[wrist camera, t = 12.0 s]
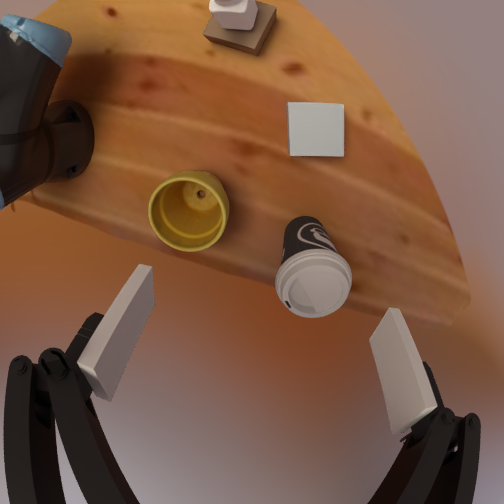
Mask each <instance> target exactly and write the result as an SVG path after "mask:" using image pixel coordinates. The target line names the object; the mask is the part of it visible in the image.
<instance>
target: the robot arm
mask: <svg viewBox="0 0 504 504" xmlns="http://www.w3.org/2000/svg"><path fill="white" fill-rule="evenodd" d="M71 43H72V37H71V35H70V33H69V32H67V31H65V30H63V29H60V28H58V27H55V26H52V25H49V24H46V23H42V22H39V21H35V20H32V19H27V18H23V17H19V16H16V15H10V14H7V15H5V16H4V17H3V19H2V20H0V210H1V209H3V208H4V207H5V206H7V205H8V204H10V203H11V202H13V201H14V200H16V199H17V198H19V197H20V196H22V195H24V194H25V193H27V192H28V191H30V190H32V189H33V188H35V187H37V186H39V185H40V184H42V183H51V182H64V181H68V180H70V179H72V178H74V177H75V176H77V175H79V174H80V173H81V172H82V171H83V170H84V169H85V168H86V166H87V164H88V163H89V160H90V158H91V155H92V151H93V146H94V131H93V126H92V122H91V119H90V117H89V115H88V113H87V111H86V110H85V109H84V108H83V107H82V106H81V105H80V104H79V103H77V102H75V101H71V100H64V101H58V102H54V103H52V104H50V105H48V102H49V99H50V96H51V93H52V91H53V88H54V85H55V83H56V80H57V78H58V75H59V73H60V70H61V68H63V66H64V64H63V63H64V60H65V58H66V55H67V53H68V50H69V48H70V46H71ZM47 105H48V106H47ZM153 287H154V286H153V270H152V267H151V266H147V265H142V264H139V265H138V266H137V268H136V269H135V271H134V272H133V274H132V275H131V276H130V278H129V279H128V281H127V282H126V284H125V285H124V287H123V288H122V290H121V291H120V293H119V294H118V296H117V297H116V299H115V300H114V302H113V303H112V305H111V306H110V308H109V309H108V311H107V313H106V314H105V315H102V314H99V313H96V312H95V313H94V314H92V315H91V316H89V317H88V318H87V319H86V321H85V322H84V324H83V325H82V328H80V330H79V331H78V334H77V335H76V336H75V338H74V339H73V341H72V342H71V344H70V346H69V347H68V349H67V351H66V352H65V353H64V352H63V351H62V350H61V349H58V348H49V349H47V350H45V351H44V352H43V353H42V354H41V355H40V357H39V361H38V364H33V363H32V362H31V360H30V359H29V358H28V357H27V356H23V355H21V356H17V357H15V358H14V359H13V360H12V361H11V364H10V366H9V372H8V378H7V386H6V395H5V408H4V462H5V474H6V482H7V489H8V495H9V501H10V504H66V502H65V497H64V492H63V487H62V482H61V476H60V471H59V464H58V455H57V445H56V432H55V419H56V423H57V426H58V430H59V433H60V437H61V439H62V443H63V445H64V449H65V452H66V454H67V457H68V460H69V463H70V465H71V468H72V470H73V473H74V475H75V478H76V480H77V482H78V484H79V487H80V489H81V491H82V493H83V495H84V497H85V499H86V501H87V503H88V504H140V503H139V502H138V500H137V498H136V497H135V495H134V493H133V491H132V490H131V488H130V486H129V484H128V483H127V481H126V479H125V477H124V475H123V473H122V471H121V470H120V467H119V466H118V463H117V461H116V459H115V457H114V455H113V453H112V451H111V449H110V446H109V444H108V442H107V439H106V437H105V435H104V432H103V430H102V428H101V425H100V422H99V420H98V417H97V414H96V412H95V409H94V406H93V403H92V400H91V398H90V395H91V393H92V391H93V392H94V393H95V395H96V396H97V397H100V398H102V399H105V400H107V401H110V402H111V400H112V398H113V396H114V393H115V391H116V388H117V386H118V384H119V381H120V379H121V377H122V374H123V372H124V370H125V368H126V365H127V362H128V361H129V359H130V356H131V354H132V352H133V350H134V347H135V345H136V343H137V341H138V339H139V337H140V335H141V333H142V330H143V328H144V326H145V324H146V322H147V320H148V318H149V316H150V314H151V312H152V310H153V308H154V306H155V300H154V288H153ZM369 341H370V344H371V348H372V351H373V355H374V359H375V362H376V366H377V369H378V373H379V377H380V381H381V385H382V389H383V394H384V398H385V402H386V407H387V411H388V415H389V420H390V425H391V430H392V434H397V433H403V432H405V431H406V430H408V429H409V428H411V430H412V432H411V433H409V434H408V435H406V436H405V437H403V438H402V439H401V440H400V442H402V441H404V440H405V439H406V441H405V442H404V443H403V444H404V445H403V447H402V449H401V451H400V453H399V454H398V456H397V458H396V460H395V462H394V463H393V465H392V467H391V469H390V470H389V472H388V474H387V475H386V477H385V478H384V480H383V482H382V483H381V485H380V486H379V488H378V489H377V491H376V492H375V494H374V495H373V497H372V498H371V500H370V501H369V502H368V504H472V501H473V496H474V491H475V485H476V479H477V472H478V463H479V451H480V433H481V431H480V429H481V424H480V419H479V418H478V416H477V415H476V414H474V413H469V414H468V415H467V416H465V417H464V418H463V417H458V416H455V415H454V413H453V411H451V409H449V408H445V407H444V405H443V402H442V399H441V396H440V393H439V390H438V387H437V385H436V382H435V379H434V378H433V377H434V376H433V373H432V371H431V368H430V367H429V366H428V364H427V363H426V362H422V361H421V358H420V356H419V353H418V351H417V348H416V346H415V343H414V341H413V339H412V336H411V334H410V331H409V329H408V327H407V325H406V322H405V320H404V318H403V316H402V313H401V311H400V309H397V308H388V310H387V312H386V314H385V315H384V317H383V318H382V320H381V322H380V323H379V325H378V327H377V328H376V330H375V331H374V333H373V334H372V336H371V338H370V339H369ZM456 446H458V449H457V451H456V452H454V448H455V447H456Z"/></svg>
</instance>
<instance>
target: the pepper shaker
mask: <svg viewBox="0 0 504 504" xmlns="http://www.w3.org/2000/svg"><path fill="white" fill-rule="evenodd" d="M209 10H210V12H211V14H212V15H213V16H214V18H215V19H216V20H217V22H218V23H219V24H220V26H221V27H223V28H227V29H241V30H251V29H252V28H253V26H254V22H255V18H256V15H257V11H258V8H257V5H256V2H255V0H210V4H209Z"/></svg>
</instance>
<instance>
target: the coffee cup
mask: <svg viewBox="0 0 504 504" xmlns="http://www.w3.org/2000/svg"><path fill="white" fill-rule="evenodd" d="M351 284H352V272H351V269H350V266H349V264H348V263H347V262H346V260H345V259H344V258H343V257H341V256H340V255H339V254H338V252H337V251H336V249H335V247H334V245H333V243H332V242H331V240H330V238H329V236H328V235H327V233H326V231H325V229H324V228H323V226H322V224H321V223H320V222H319V221H318V220H317V219H315V218H313V217H309V216H301V217H298V218H295V219H294V220H292V221H291V222H290V223H289V224H288V225H287V227H286V230H285V235H284V244H283V253H282V261H281V267H280V269H279V270H278V272H277V275H276V279H275V288H276V292H277V294H278V296H279V298H280V300H281V301H282V302H283V304H284V305H285V306H286V307H287V308H288V309H289V310H290V311H292V312H293V313H295V314H296V315H299V316H302V317H307V318H317V317H323V316H326V315H329V314H331V313H333V312H334V311H336V310H337V309H339V308H340V307H341V306H342V305H343V303H344V302H345V300H346V299H347V296H348V293H349V291H350V288H351Z"/></svg>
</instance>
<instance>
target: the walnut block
mask: <svg viewBox="0 0 504 504" xmlns="http://www.w3.org/2000/svg"><path fill="white" fill-rule="evenodd" d="M255 2H256V5H257V8H258V11H257V15H256V18H255V22H254V26H253V28H252V29H251V30H241V29H227V28H223V27H221V26H220V24H219V23H218V22H217V20H216V19H215V18H214V16H213V15H212V16H211V18H210V20H209V22H208V24H207V26H206V28H205V30H204V32H203V35H204V36H205V37H206V38H207V39H208V40H209V41H210V42H213V43H217V44H220V45H224V46H227V47H231V48H234V49H237V50H241V51H244V52H247V53H250V54H253V55H256V56H257V55H258V53H259V51H260V49H261V47H262V45H263V43H264V41H265V39H266V37H267V35H268V33H269V31H270V29H271V27H272V25H273V23H274V21H275V19H276V7H274V6H271V5H268V4H265V3H262V2H258V1H255Z"/></svg>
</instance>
